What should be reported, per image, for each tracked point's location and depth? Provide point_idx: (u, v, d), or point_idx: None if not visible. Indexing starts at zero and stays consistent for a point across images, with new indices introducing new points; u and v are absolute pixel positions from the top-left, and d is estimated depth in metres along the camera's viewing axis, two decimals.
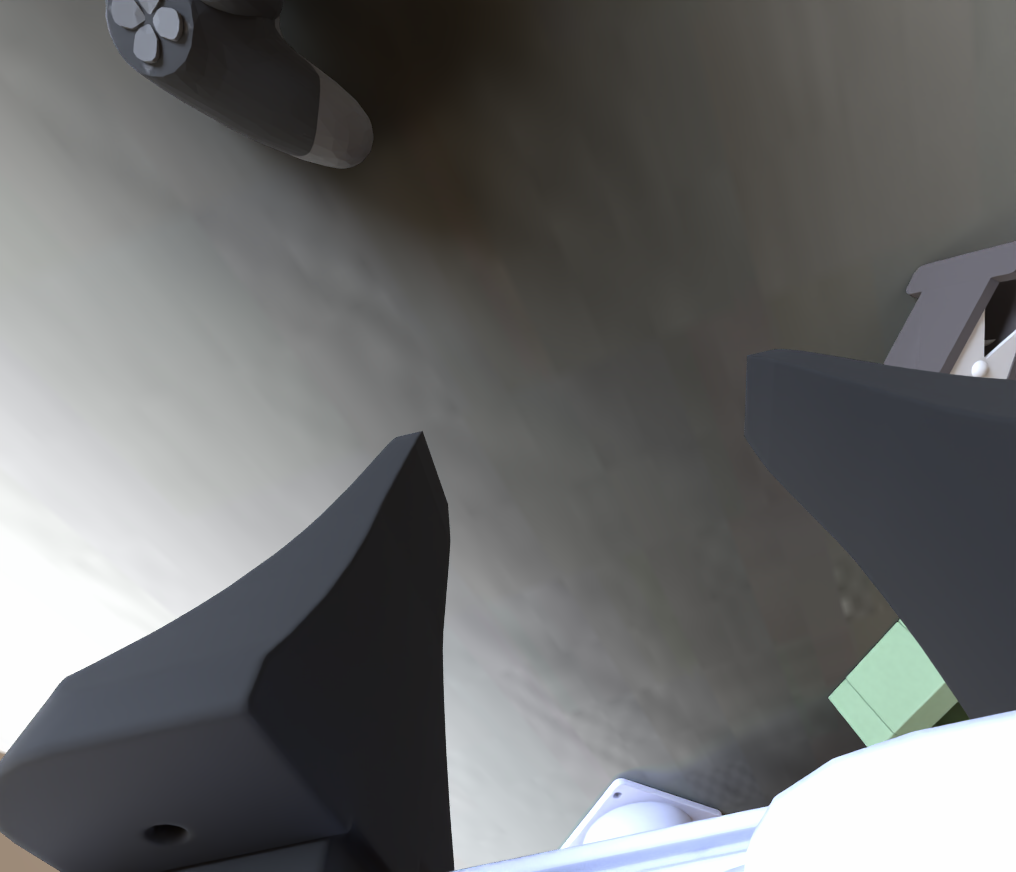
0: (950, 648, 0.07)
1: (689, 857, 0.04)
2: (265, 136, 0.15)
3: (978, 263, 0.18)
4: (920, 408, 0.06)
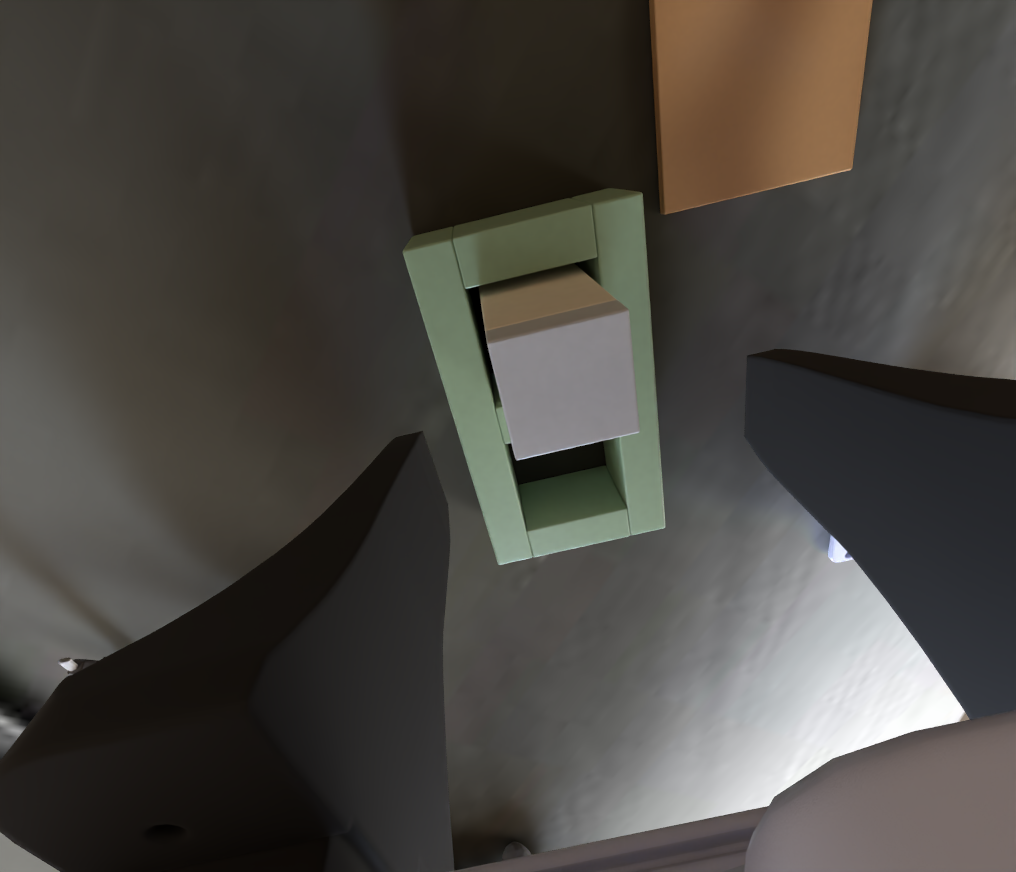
0: (951, 648, 0.07)
1: (689, 857, 0.04)
2: None
3: None
4: (920, 408, 0.06)
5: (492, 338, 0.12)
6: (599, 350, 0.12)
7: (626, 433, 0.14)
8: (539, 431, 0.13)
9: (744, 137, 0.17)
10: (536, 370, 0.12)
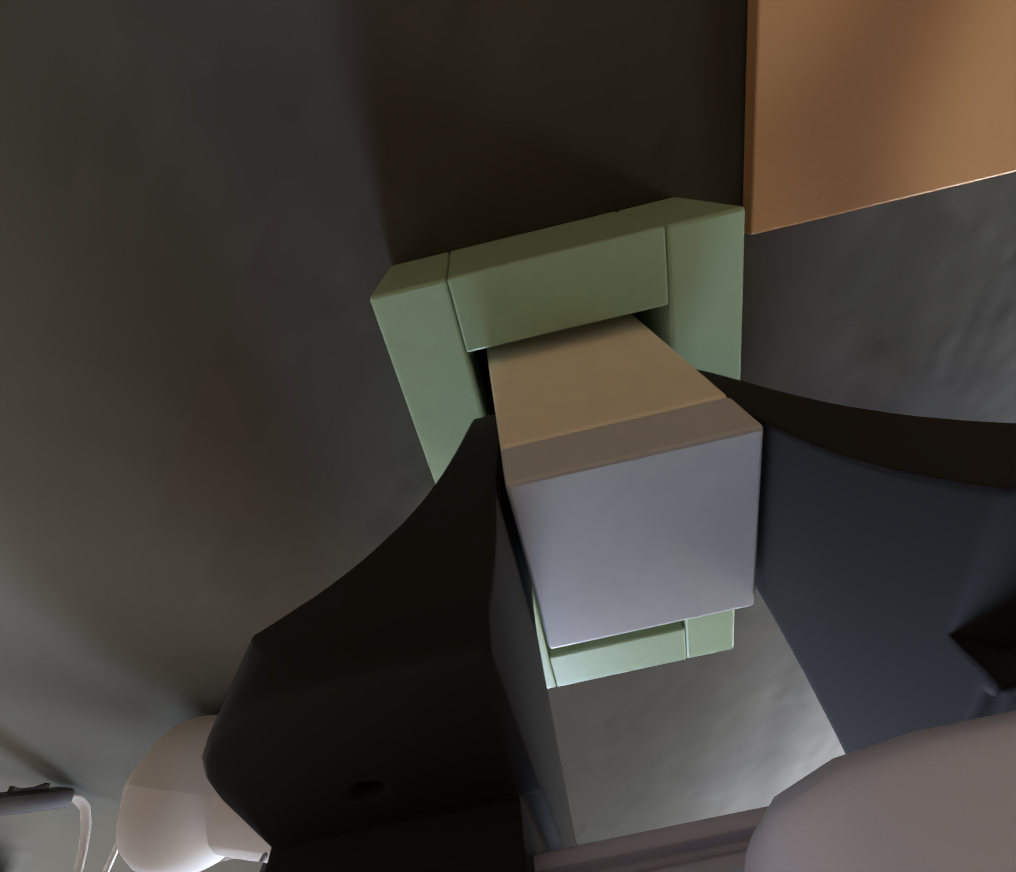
0: (823, 674, 0.07)
1: (688, 858, 0.04)
2: None
3: None
4: (784, 439, 0.06)
5: (515, 476, 0.07)
6: (703, 492, 0.07)
7: (732, 607, 0.08)
8: (590, 610, 0.08)
9: (874, 123, 0.12)
10: (591, 524, 0.07)
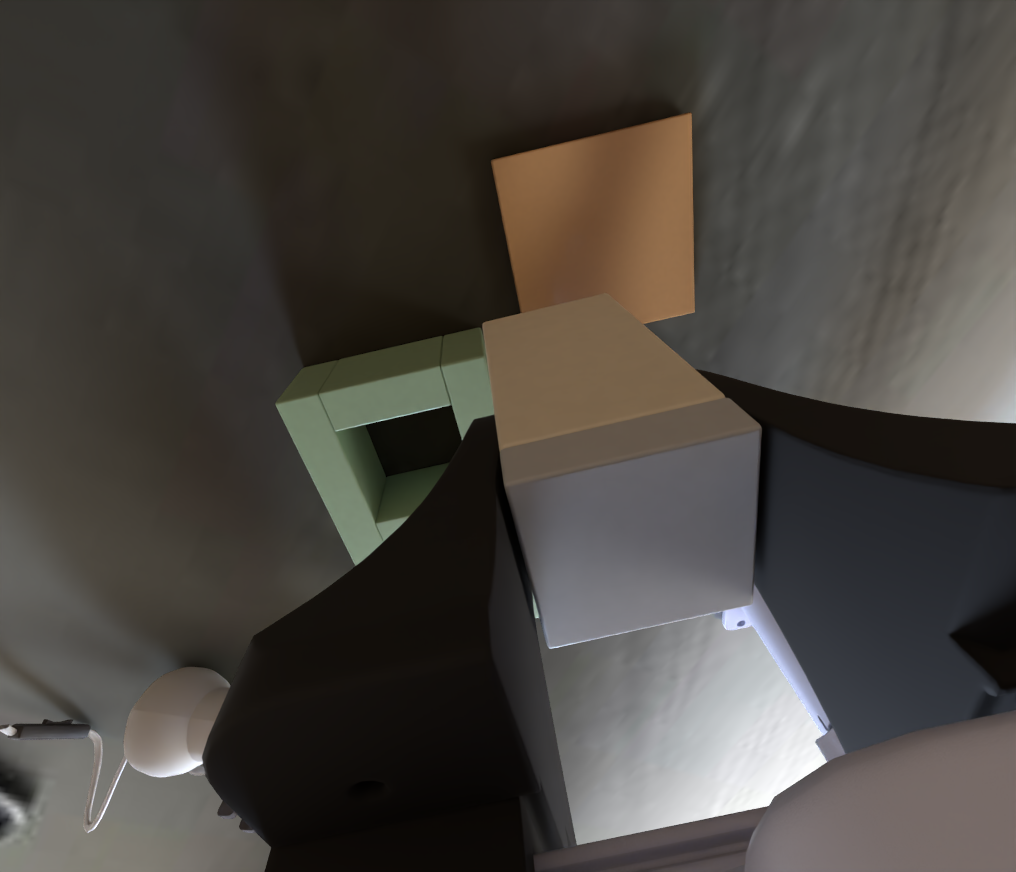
0: (823, 674, 0.07)
1: (688, 857, 0.04)
2: None
3: None
4: (784, 439, 0.06)
5: (513, 477, 0.07)
6: (702, 492, 0.07)
7: (731, 607, 0.08)
8: (589, 610, 0.08)
9: (592, 288, 0.19)
10: (590, 523, 0.07)
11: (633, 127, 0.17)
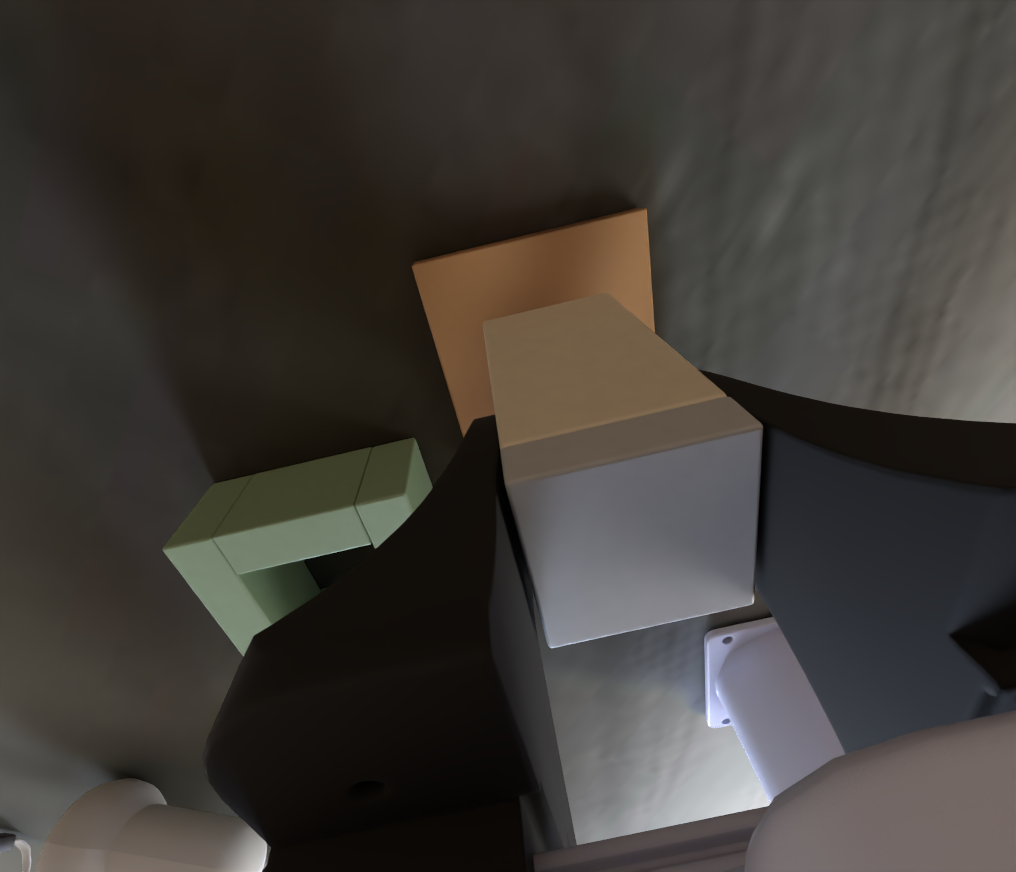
0: (823, 675, 0.07)
1: (689, 856, 0.04)
2: None
3: None
4: (784, 439, 0.06)
5: (515, 475, 0.07)
6: (703, 491, 0.07)
7: (732, 607, 0.08)
8: (589, 609, 0.08)
9: None
10: (591, 523, 0.07)
11: (578, 226, 0.14)
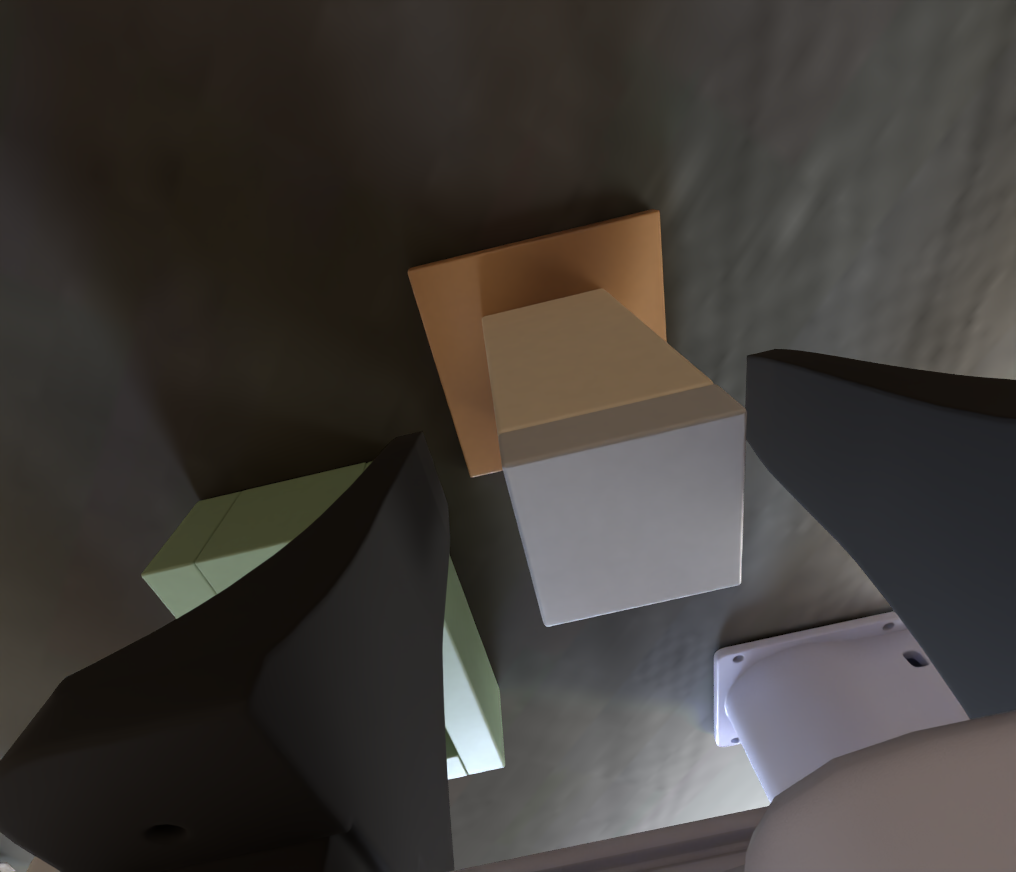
0: (950, 648, 0.07)
1: (689, 858, 0.04)
2: None
3: None
4: (919, 408, 0.06)
5: (512, 458, 0.07)
6: (691, 473, 0.07)
7: (720, 587, 0.09)
8: (584, 588, 0.08)
9: None
10: (585, 503, 0.07)
11: (586, 229, 0.13)
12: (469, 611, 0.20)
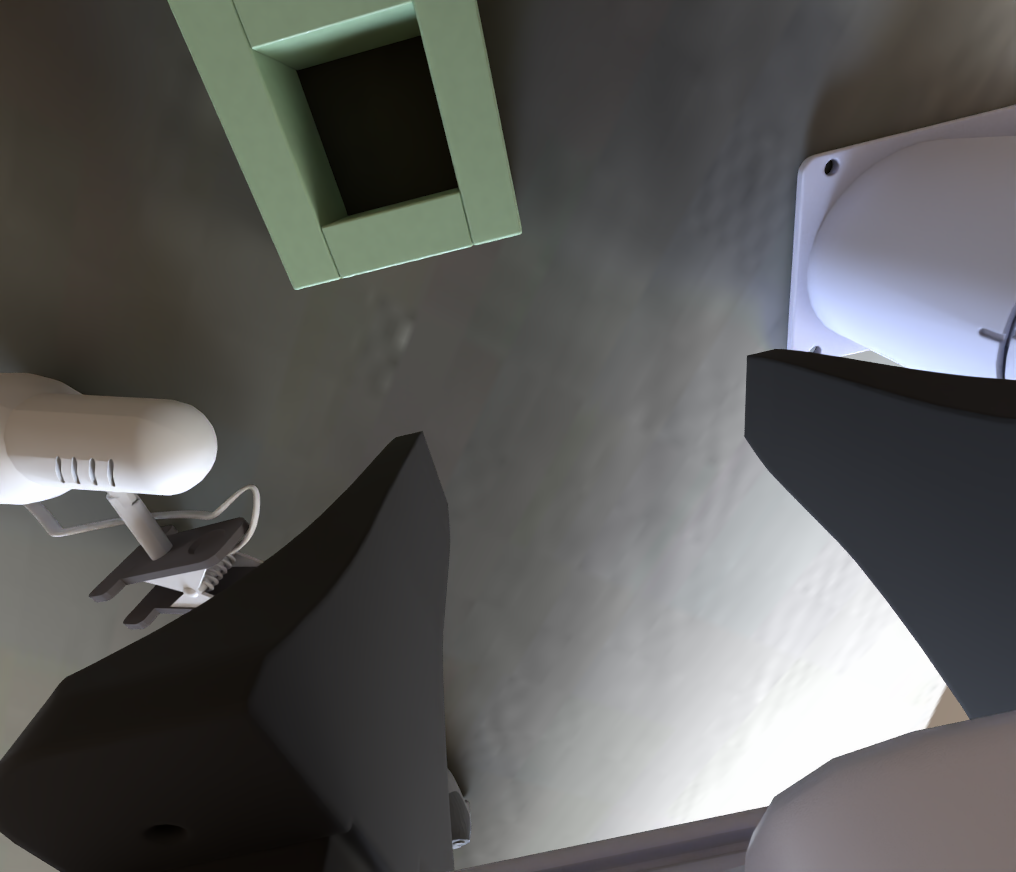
0: (950, 648, 0.07)
1: (689, 856, 0.04)
2: (455, 805, 0.35)
3: None
4: (920, 408, 0.06)
5: None
6: None
7: None
8: None
9: None
10: None
11: None
12: None
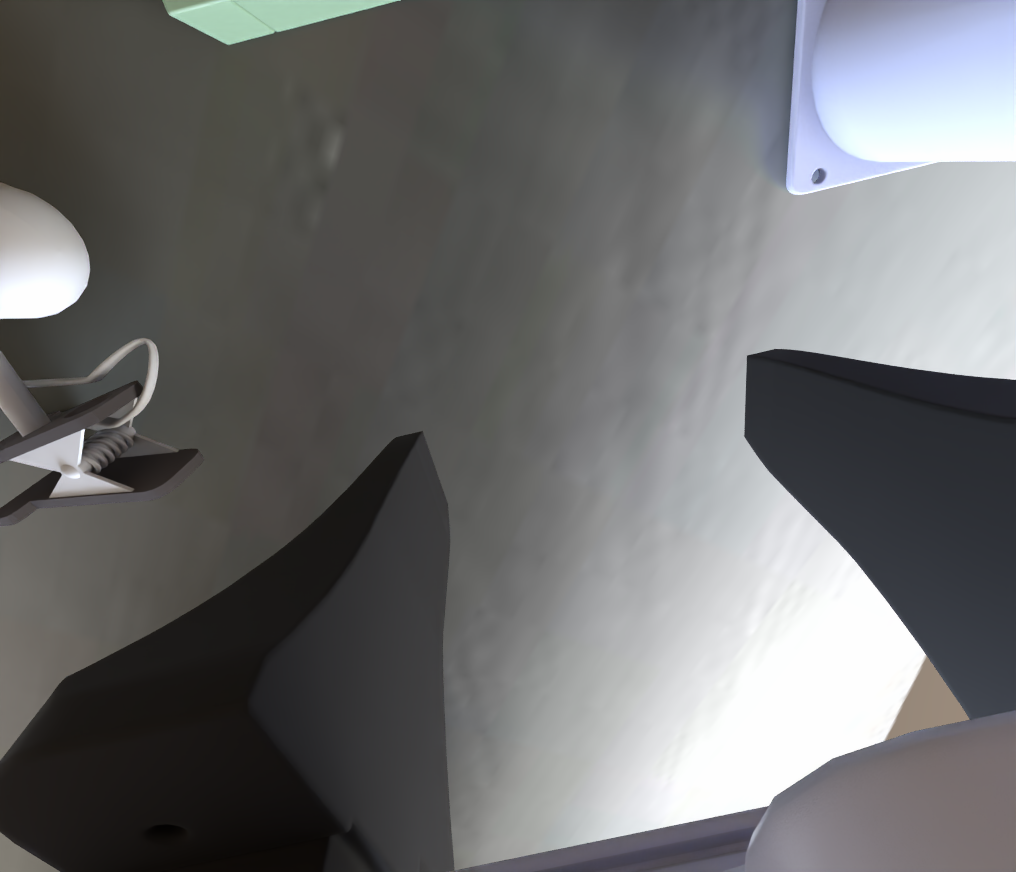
0: (951, 648, 0.07)
1: (689, 856, 0.04)
2: None
3: None
4: (919, 408, 0.06)
5: None
6: None
7: None
8: None
9: None
10: None
11: None
12: None
